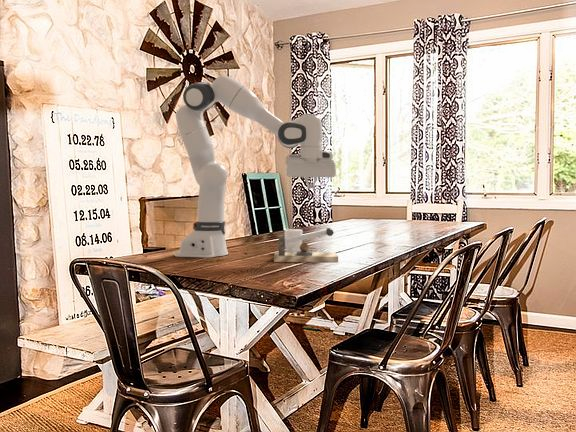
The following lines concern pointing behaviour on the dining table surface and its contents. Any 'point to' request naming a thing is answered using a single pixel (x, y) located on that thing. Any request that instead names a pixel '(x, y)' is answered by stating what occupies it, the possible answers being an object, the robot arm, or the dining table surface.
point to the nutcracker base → (302, 254)
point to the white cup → (294, 245)
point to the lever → (310, 236)
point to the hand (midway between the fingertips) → (310, 188)
